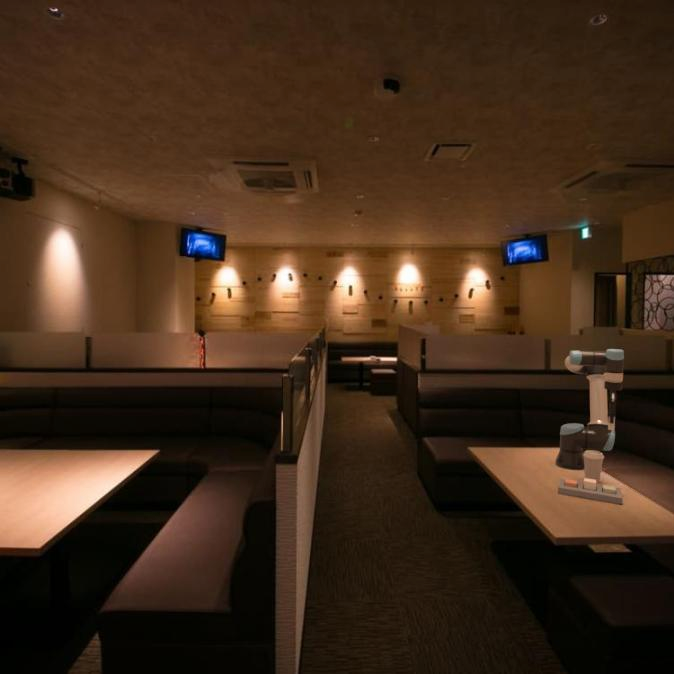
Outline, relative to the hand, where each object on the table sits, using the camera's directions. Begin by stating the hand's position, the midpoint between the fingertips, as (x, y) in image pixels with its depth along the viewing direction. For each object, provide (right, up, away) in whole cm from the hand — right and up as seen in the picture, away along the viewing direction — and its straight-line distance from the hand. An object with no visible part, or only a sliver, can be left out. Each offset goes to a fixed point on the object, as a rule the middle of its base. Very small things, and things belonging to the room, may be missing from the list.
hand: (611, 429), depth 234 cm
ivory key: (-13, -27, -5) cm, 30 cm away
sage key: (-6, -29, -9) cm, 31 cm away
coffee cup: (-3, -29, +12) cm, 31 cm away
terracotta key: (-20, -28, -1) cm, 35 cm away
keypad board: (-13, -30, -5) cm, 33 cm away
